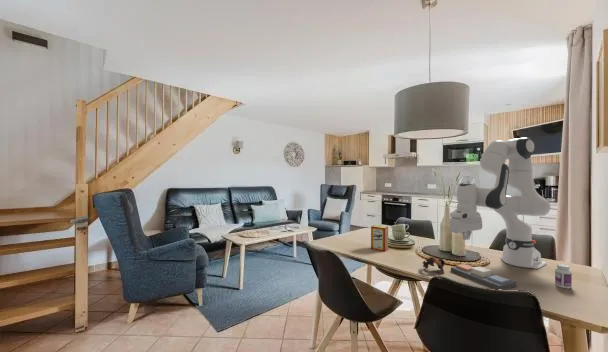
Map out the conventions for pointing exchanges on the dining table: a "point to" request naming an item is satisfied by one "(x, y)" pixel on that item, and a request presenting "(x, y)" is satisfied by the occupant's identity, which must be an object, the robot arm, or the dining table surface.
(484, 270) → the cream button
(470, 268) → the terracotta button
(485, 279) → the button panel
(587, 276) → the dining table surface
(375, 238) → the baking soda box
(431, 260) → the brown black arched toy
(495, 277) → the slate button
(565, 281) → the pill bottle
